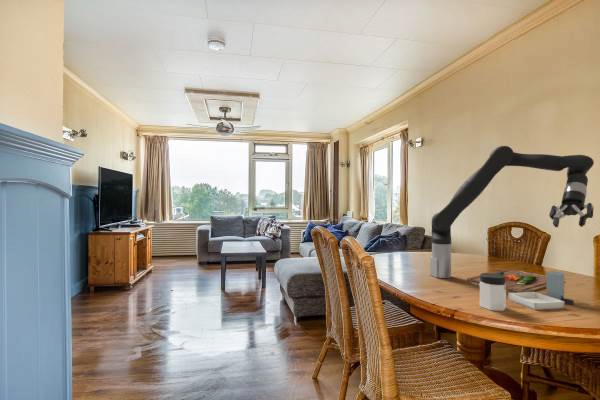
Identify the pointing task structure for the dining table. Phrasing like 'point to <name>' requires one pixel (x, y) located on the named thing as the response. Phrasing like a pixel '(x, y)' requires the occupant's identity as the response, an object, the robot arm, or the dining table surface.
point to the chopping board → (518, 281)
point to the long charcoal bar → (566, 300)
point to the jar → (492, 291)
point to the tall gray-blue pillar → (555, 285)
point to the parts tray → (536, 300)
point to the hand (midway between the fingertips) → (568, 226)
